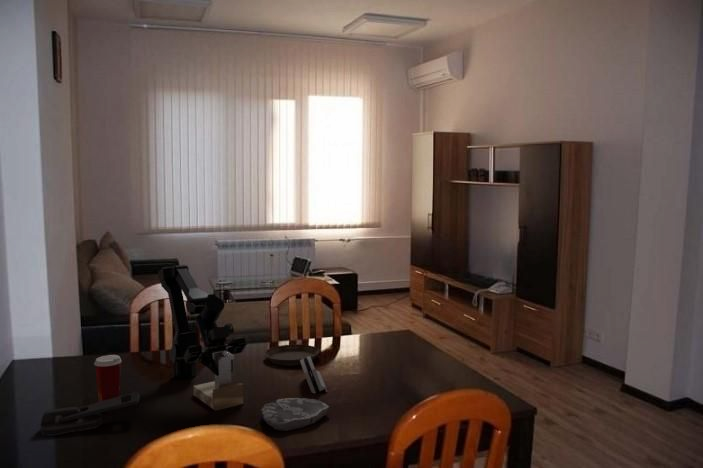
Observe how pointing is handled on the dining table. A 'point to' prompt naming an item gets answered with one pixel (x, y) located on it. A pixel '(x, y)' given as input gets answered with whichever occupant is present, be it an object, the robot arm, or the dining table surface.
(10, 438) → the dining table surface
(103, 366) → the paper cup
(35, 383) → the dining table surface
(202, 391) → the block
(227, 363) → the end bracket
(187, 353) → the robot arm
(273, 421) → the brain slice
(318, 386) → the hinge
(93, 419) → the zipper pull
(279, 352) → the plant saucer
